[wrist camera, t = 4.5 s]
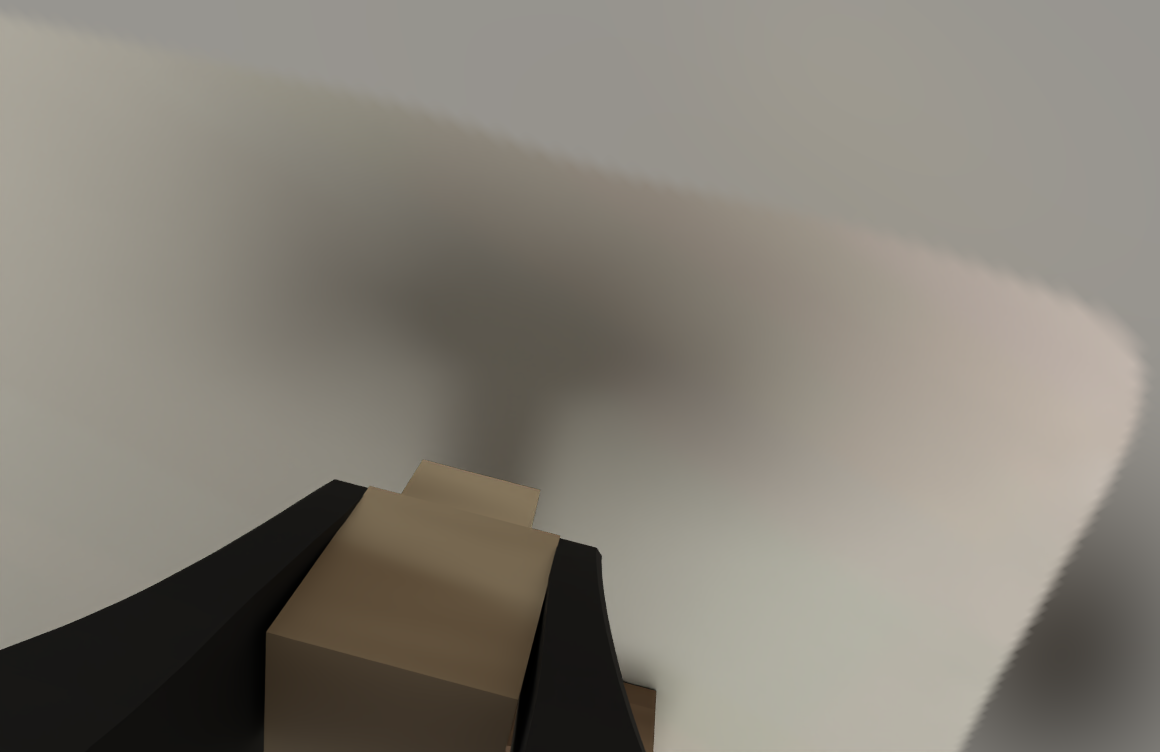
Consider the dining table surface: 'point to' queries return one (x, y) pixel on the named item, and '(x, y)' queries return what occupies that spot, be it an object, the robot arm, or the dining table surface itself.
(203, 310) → the dining table surface
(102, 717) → the robot arm
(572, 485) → the dining table surface
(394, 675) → the mallet
